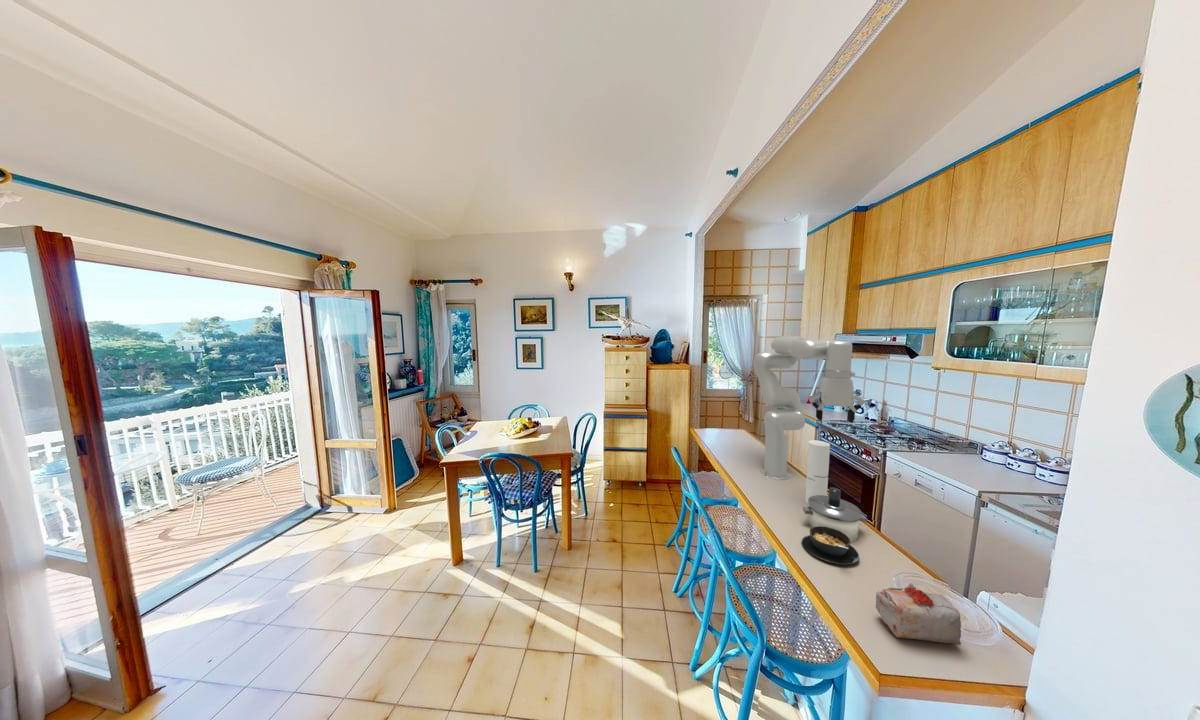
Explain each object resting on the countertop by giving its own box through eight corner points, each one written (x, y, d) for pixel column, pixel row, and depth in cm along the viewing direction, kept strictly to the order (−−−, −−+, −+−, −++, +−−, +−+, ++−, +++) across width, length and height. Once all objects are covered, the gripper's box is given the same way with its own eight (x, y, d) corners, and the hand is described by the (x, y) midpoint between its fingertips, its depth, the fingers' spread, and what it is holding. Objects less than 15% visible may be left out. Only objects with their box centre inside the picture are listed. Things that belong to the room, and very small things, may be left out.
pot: (797, 514, 125) (798, 496, 125) (854, 522, 120) (856, 503, 120) (809, 536, 112) (810, 516, 111) (874, 546, 107) (875, 525, 106)
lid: (802, 495, 125) (803, 477, 124) (849, 501, 121) (851, 482, 120) (816, 517, 111) (817, 496, 110) (870, 525, 106) (871, 503, 106)
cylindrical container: (825, 510, 128) (829, 447, 126) (804, 504, 133) (807, 443, 130) (826, 502, 134) (830, 442, 132) (806, 497, 138) (809, 439, 136)
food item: (894, 642, 74) (898, 601, 73) (871, 612, 82) (874, 575, 81) (964, 651, 72) (969, 609, 71) (934, 619, 80) (937, 581, 79)
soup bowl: (855, 547, 107) (857, 525, 106) (862, 578, 94) (864, 553, 93) (801, 532, 115) (803, 511, 114) (800, 558, 102) (801, 535, 101)
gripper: (860, 374, 121) (857, 420, 123) (807, 372, 126) (804, 416, 128) (870, 377, 114) (867, 425, 116) (813, 375, 119) (811, 421, 121)
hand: (834, 421), depth 122 cm, fingers open, 9 cm apart
